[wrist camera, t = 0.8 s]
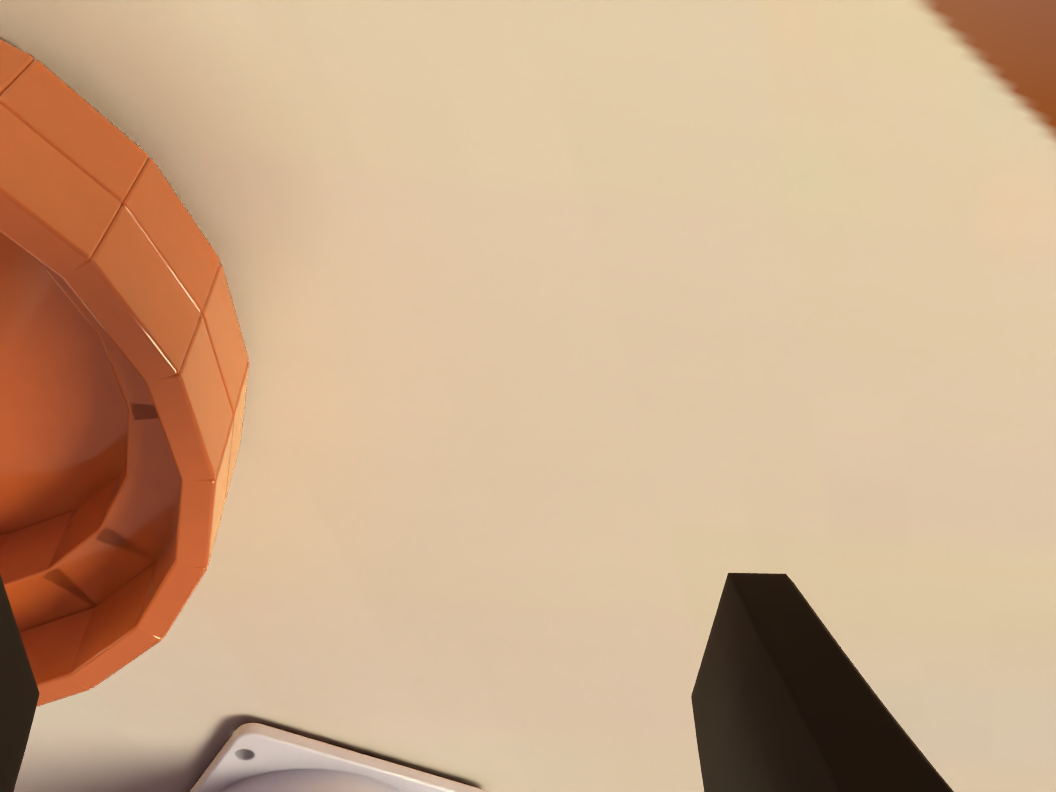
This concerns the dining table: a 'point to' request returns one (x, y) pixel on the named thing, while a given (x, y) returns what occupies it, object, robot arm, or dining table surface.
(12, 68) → the bowl
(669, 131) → the dining table surface
